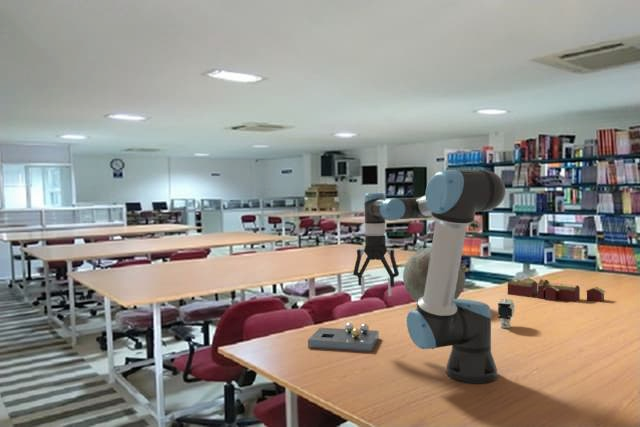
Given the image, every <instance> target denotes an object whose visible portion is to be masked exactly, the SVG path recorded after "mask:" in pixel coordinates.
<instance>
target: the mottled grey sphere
mask: <svg viewBox="0 0 640 427" xmlns="http://www.w3.org/2000/svg"><path fill="white" fill-rule="evenodd" d="M431 248H432V246H430V247H423V248H421V249H419V250H418V251H416V252H414V253H413V254H412V255H411V256H410V257H409V259H408V260H407V261H406V263H405V265H404V269H403V273H402V278H403V279H402V280H403V284H404V288H405V290H406V292H407V294H408V295H409V296H410V298H412V300H413V301H415V302H416V303H418V300H419V299H420V298H421V297H423V296H424V292H425V286H426V279H427V273H428V267H429V260H430V254H431ZM465 282H466V274H465V269H464V267H463V264H462V261H461V262H460V267H459V273H458V279H457V284H456V290H455V295H454V299H459V297H460V296H461V294H462V292H463V290H464V287H465V284H466V283H465Z"/></svg>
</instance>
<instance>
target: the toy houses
mask: <svg viewBox="0 0 640 427" xmlns="http://www.w3.org/2000/svg"><path fill="white" fill-rule="evenodd" d="M580 290H581V289H580V286H579V285H575V284H565V283H556V282H554V283H552V282H550V281H549V280H548V279H543V278H540V280H539V282H537V281H535V280H534V279H532V278H530V277H525V278H523V279H516V278H514V279H513V278H510V279H509V280H508V282H507V295H509V296H510V295H511V296H517V297H518V296H519V297H525V298H534V297H536V296H537V299H538V300H545V301H548V302H557V301H562V302H569V301H570V303H576V301H577V302H578V301H580V298H581V294H580V293H581V292H580ZM585 292H586V301H587V302H595V303H602V302H603V301H605V294H606V293H607V291H605V290H604V289H602V288H600V287H598V286H595V287H591V288H589V289H587V290H585V291H584V293H585Z"/></svg>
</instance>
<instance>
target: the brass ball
mask: <svg viewBox="0 0 640 427" xmlns="http://www.w3.org/2000/svg"><path fill="white" fill-rule="evenodd" d="M351 334H352V336H353V337H355V338H357V337H359V336H360V328H355V327H354V329H353V330H352V332H351Z"/></svg>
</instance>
